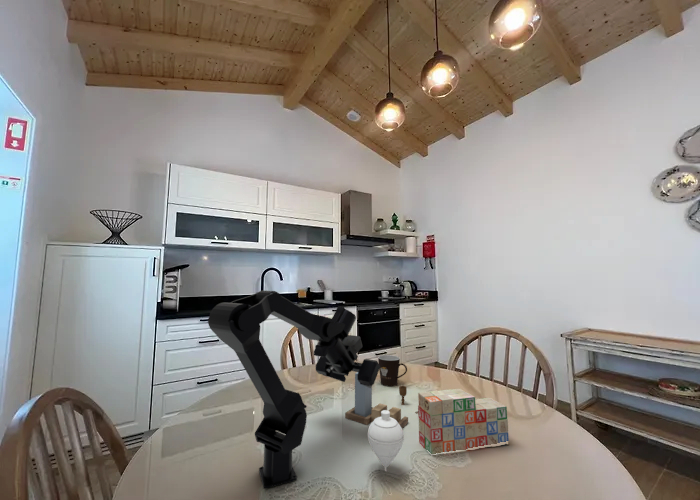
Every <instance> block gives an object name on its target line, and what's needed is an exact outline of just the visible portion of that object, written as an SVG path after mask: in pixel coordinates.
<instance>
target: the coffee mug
mask: <svg viewBox="0 0 700 500" xmlns="http://www.w3.org/2000/svg"><path fill="white" fill-rule="evenodd" d="M377 359H378V360H377V362H378V363H379V365H380V369H379V379H380V384H381V385H382V386H384V387H389V388H390V387H396V386H398V382H399V380H398V379H400V378H402V377H404V375H406V374H407V372H408V367H407V365H406V364H405V363H402V362H401V363H400V360H401V357H400V356H397V355H393V354H392V355H390V354H389V355H388V354H382V355H379V356H378V357H377ZM400 366H403V367H404V368H405V370H404V372H403V374H400V375H399V372H400V371H399V370H400Z"/></svg>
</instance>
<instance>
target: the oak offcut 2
mask: <svg viewBox="0 0 700 500" xmlns="http://www.w3.org/2000/svg"><path fill="white" fill-rule="evenodd" d="M388 411H389V412H390V417H391V418H394V419H395V420H396V421H397V422H399V421H400V420H401V419H402V409H401V408H399V407H395V406H392V407H391V408H389V410H388Z"/></svg>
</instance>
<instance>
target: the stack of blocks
mask: <svg viewBox="0 0 700 500" xmlns="http://www.w3.org/2000/svg"><path fill="white" fill-rule="evenodd" d="M417 395H418V396H417V397H418V405H417V412H418V413H417V415H418V416H417V417H418V443H419V445H421V446H422V447H423V449H424V448H425V449H424V450H425V451H426V450H428V451H429V452H430V453H431V454H436V453H441V452H449V451H456V450H466V449H468V448H473V447H478V446H484V445H491V444H497V443H500V442H506V441H510V440H509V421H508V407H507V406H506V404H505V405H504V404H503V403H501V402H499V401H497V400H495V399H493V398H492V397H485V398H476V396H474V395H472V394H471V393H468V392H466V391H465V390H463V389H462V388H454V389H453V388H452V389H444V390H443V389H441V390H434V391H432V390H431V391H420V392H418V393H417Z"/></svg>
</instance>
